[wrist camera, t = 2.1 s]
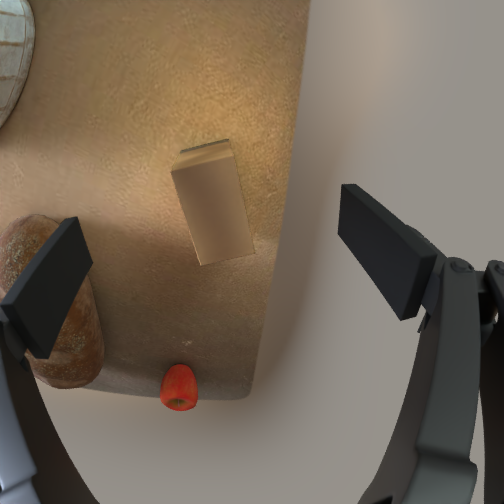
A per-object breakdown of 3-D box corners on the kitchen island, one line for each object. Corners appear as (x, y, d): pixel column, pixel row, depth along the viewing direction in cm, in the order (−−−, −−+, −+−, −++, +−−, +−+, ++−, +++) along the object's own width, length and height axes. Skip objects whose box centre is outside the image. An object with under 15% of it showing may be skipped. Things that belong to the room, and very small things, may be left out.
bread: (45, 354, 41) (27, 403, 32) (-3, 207, 27) (-53, 252, 17) (119, 367, 44) (109, 423, 35) (91, 210, 30) (49, 266, 20)
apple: (155, 361, 44) (151, 399, 38) (189, 355, 44) (188, 394, 38) (171, 381, 47) (170, 416, 41) (203, 375, 47) (204, 412, 41)
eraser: (228, 138, 28) (233, 155, 21) (245, 216, 33) (255, 253, 26) (180, 150, 28) (170, 171, 21) (202, 226, 33) (200, 266, 26)
